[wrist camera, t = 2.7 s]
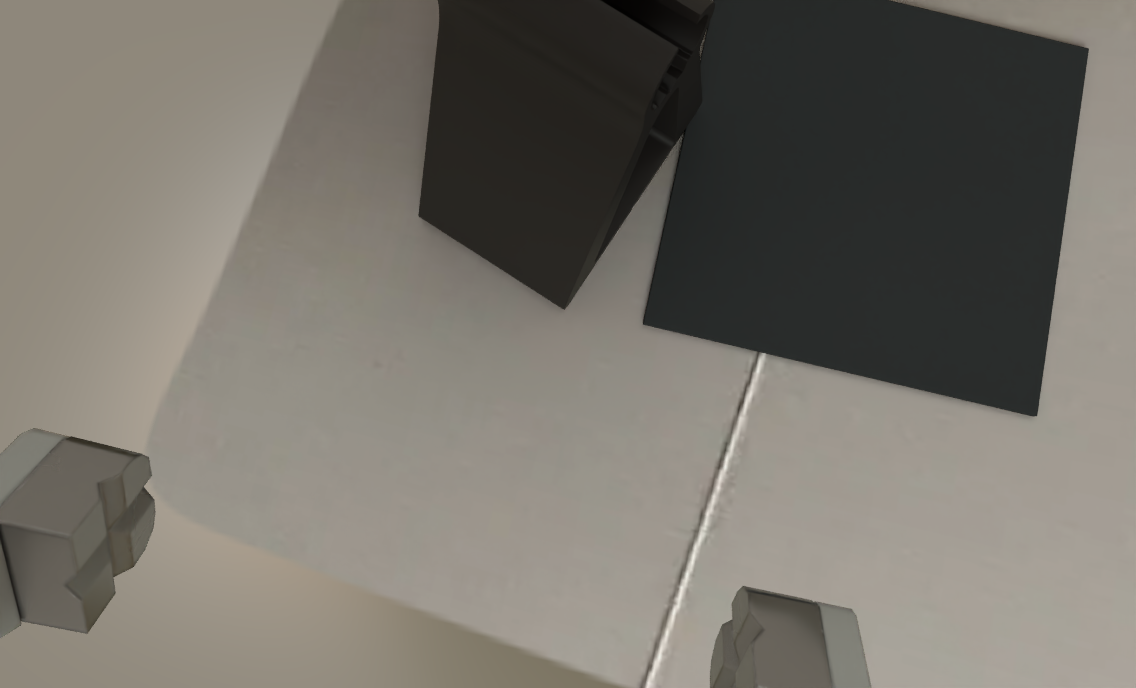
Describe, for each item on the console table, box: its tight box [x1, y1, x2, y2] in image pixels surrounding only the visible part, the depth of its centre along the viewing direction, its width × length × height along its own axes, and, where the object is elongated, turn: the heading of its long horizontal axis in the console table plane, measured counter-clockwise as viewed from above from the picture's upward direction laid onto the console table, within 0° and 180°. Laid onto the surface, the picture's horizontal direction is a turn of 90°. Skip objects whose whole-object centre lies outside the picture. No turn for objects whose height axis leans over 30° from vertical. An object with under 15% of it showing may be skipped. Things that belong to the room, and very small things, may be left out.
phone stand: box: [419, 0, 715, 310], centre depth 25 cm, size 9×6×12 cm, turn 147°
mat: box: [643, 0, 1089, 416], centre depth 31 cm, size 14×14×1 cm
